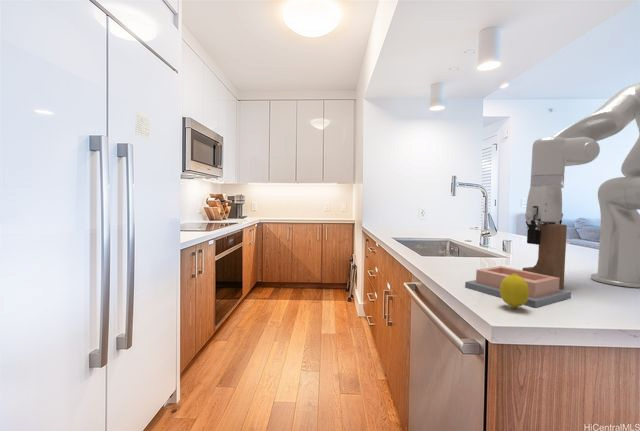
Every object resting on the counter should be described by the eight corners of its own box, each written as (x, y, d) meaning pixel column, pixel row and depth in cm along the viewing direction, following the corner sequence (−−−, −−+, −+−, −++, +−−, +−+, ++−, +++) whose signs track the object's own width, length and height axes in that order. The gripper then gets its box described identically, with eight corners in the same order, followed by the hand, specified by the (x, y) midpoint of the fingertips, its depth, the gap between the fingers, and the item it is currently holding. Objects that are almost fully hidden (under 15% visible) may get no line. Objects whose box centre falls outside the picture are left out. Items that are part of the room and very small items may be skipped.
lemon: (494, 303, 71) (496, 270, 71) (519, 304, 71) (521, 271, 70) (506, 312, 66) (508, 276, 65) (533, 313, 65) (535, 277, 65)
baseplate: (500, 280, 92) (500, 264, 92) (570, 297, 76) (571, 278, 76) (465, 287, 85) (465, 269, 84) (535, 307, 69) (536, 286, 68)
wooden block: (521, 282, 90) (523, 222, 89) (532, 281, 91) (535, 222, 90) (552, 291, 81) (555, 225, 80) (564, 290, 83) (567, 224, 82)
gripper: (548, 184, 92) (544, 240, 93) (514, 181, 84) (511, 242, 85) (578, 183, 85) (574, 243, 86) (544, 180, 77) (541, 246, 78)
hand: (543, 243), depth 86 cm, fingers open, 9 cm apart
